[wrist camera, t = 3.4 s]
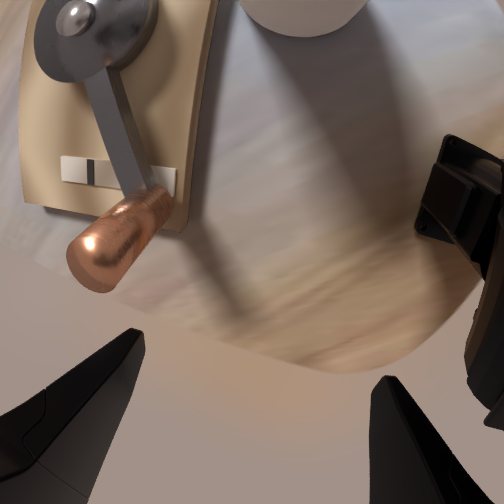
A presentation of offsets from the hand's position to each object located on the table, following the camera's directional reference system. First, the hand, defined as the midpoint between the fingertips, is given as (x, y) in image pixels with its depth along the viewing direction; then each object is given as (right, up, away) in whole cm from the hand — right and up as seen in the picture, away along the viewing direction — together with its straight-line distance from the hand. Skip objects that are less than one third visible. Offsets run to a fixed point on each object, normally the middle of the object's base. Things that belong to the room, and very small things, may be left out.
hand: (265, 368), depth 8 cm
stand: (-9, +13, +6) cm, 17 cm away
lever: (-7, +12, +5) cm, 15 cm away
